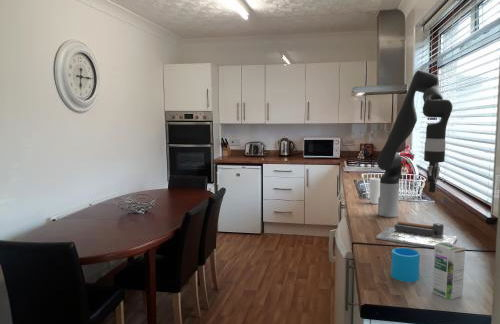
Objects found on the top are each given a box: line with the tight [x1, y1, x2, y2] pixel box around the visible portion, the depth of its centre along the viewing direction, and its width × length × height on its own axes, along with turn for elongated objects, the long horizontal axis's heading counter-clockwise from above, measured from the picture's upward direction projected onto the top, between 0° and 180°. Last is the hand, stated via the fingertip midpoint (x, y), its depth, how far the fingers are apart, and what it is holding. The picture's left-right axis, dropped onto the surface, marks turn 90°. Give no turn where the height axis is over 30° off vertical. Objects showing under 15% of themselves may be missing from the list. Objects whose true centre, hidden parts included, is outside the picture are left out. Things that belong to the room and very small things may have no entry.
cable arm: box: [394, 220, 445, 235], centre depth 167 cm, size 19×6×4 cm, turn 56°
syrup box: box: [432, 242, 466, 301], centre depth 109 cm, size 6×6×14 cm
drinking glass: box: [368, 177, 381, 205], centre depth 229 cm, size 7×7×15 cm
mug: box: [390, 247, 421, 283], centre depth 124 cm, size 12×8×8 cm
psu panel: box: [375, 226, 458, 249], centre depth 161 cm, size 28×18×1 cm, turn 55°
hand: (432, 192), depth 157 cm, fingers closed
